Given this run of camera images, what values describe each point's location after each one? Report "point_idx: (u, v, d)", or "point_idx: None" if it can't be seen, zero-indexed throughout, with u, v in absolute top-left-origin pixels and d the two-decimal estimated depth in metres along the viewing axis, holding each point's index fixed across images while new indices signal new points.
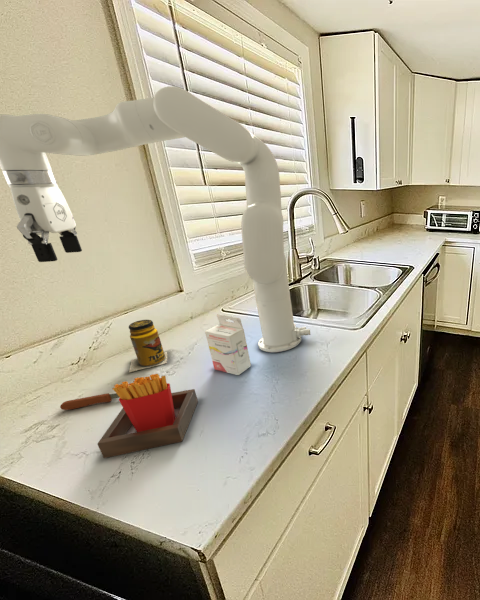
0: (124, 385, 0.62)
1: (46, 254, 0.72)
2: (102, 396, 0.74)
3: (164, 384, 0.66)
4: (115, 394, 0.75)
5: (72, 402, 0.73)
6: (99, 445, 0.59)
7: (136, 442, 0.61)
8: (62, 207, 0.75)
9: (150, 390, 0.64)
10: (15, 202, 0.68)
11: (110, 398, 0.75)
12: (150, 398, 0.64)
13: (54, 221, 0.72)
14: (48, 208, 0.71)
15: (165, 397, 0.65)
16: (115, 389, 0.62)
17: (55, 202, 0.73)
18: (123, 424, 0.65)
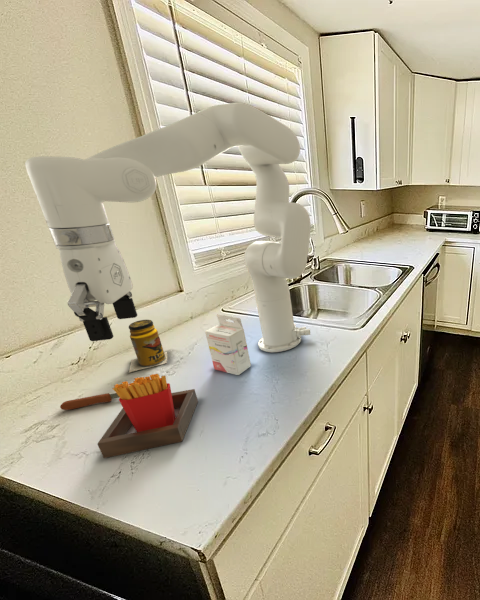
0: (124, 385, 0.62)
1: (101, 332, 0.55)
2: (102, 396, 0.74)
3: (164, 384, 0.66)
4: (115, 394, 0.76)
5: (72, 402, 0.73)
6: (99, 445, 0.59)
7: (136, 442, 0.61)
8: (119, 268, 0.59)
9: (150, 390, 0.64)
10: (65, 269, 0.52)
11: (110, 398, 0.75)
12: (150, 398, 0.64)
13: (111, 289, 0.56)
14: (105, 273, 0.55)
15: (165, 397, 0.65)
16: (115, 389, 0.62)
17: (112, 263, 0.57)
18: (123, 424, 0.65)
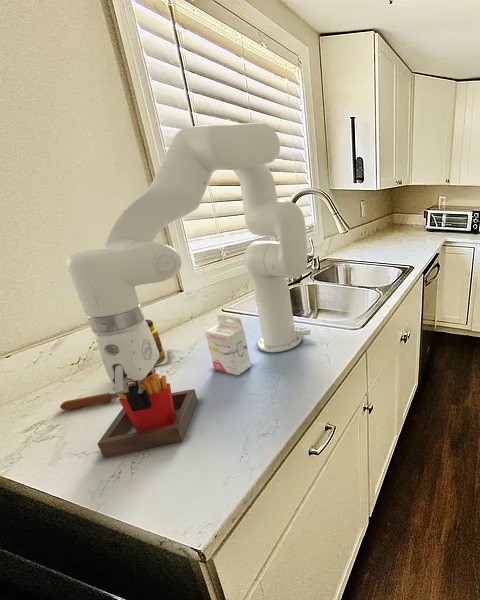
0: None
1: (142, 404, 0.62)
2: (102, 396, 0.74)
3: (164, 384, 0.66)
4: (115, 394, 0.76)
5: (72, 402, 0.73)
6: (99, 445, 0.59)
7: (136, 442, 0.61)
8: (148, 342, 0.63)
9: (150, 390, 0.64)
10: (102, 353, 0.56)
11: (110, 398, 0.75)
12: (150, 398, 0.64)
13: (143, 365, 0.60)
14: (137, 352, 0.59)
15: (165, 397, 0.65)
16: None
17: (143, 340, 0.61)
18: (123, 424, 0.65)
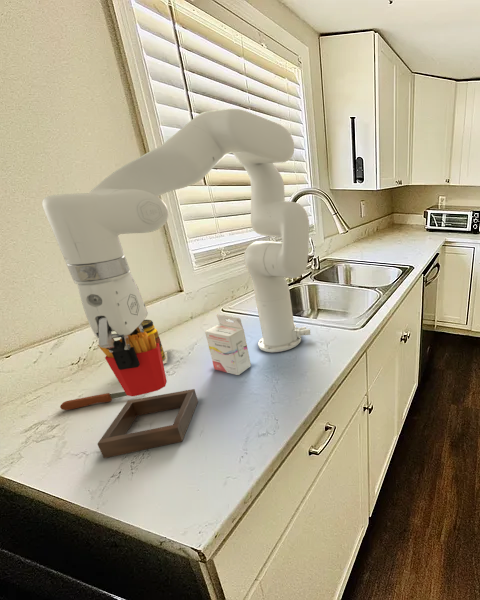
0: None
1: (129, 362, 0.59)
2: (102, 396, 0.74)
3: (153, 343, 0.62)
4: (115, 394, 0.76)
5: (72, 402, 0.73)
6: (99, 445, 0.59)
7: (136, 442, 0.61)
8: (135, 297, 0.60)
9: (138, 348, 0.60)
10: (84, 304, 0.53)
11: (110, 397, 0.76)
12: (138, 357, 0.61)
13: (129, 320, 0.57)
14: (122, 305, 0.56)
15: (154, 357, 0.62)
16: None
17: (128, 294, 0.58)
18: (123, 424, 0.65)
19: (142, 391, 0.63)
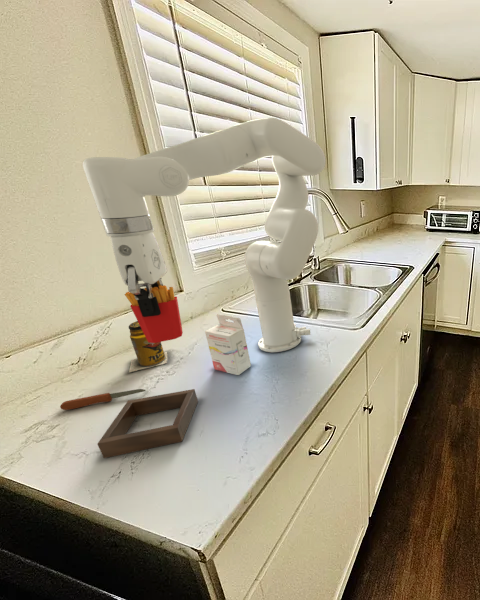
0: None
1: (152, 309, 0.67)
2: (102, 396, 0.74)
3: (172, 295, 0.71)
4: (115, 394, 0.76)
5: (72, 402, 0.73)
6: (99, 445, 0.59)
7: (136, 442, 0.61)
8: (157, 253, 0.68)
9: (159, 298, 0.69)
10: (116, 253, 0.61)
11: (110, 397, 0.76)
12: (159, 306, 0.69)
13: (153, 271, 0.65)
14: (148, 257, 0.64)
15: (173, 307, 0.70)
16: (127, 295, 0.67)
17: (152, 249, 0.66)
18: (123, 424, 0.65)
19: (162, 339, 0.71)
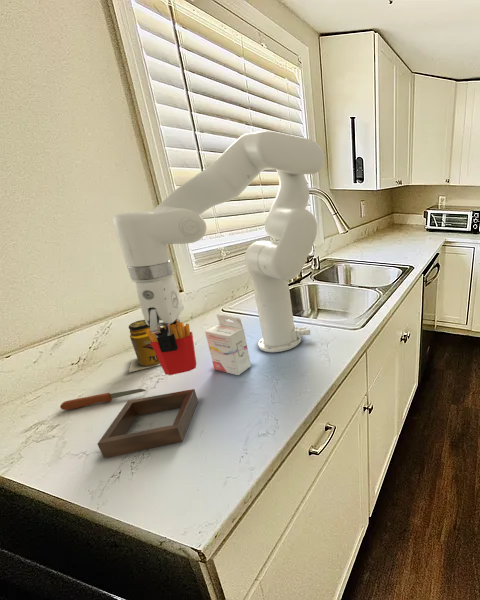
0: None
1: (170, 345, 0.73)
2: (102, 396, 0.74)
3: (188, 331, 0.77)
4: (115, 393, 0.76)
5: (72, 402, 0.73)
6: (99, 445, 0.59)
7: (136, 442, 0.61)
8: (175, 294, 0.74)
9: (176, 335, 0.75)
10: (140, 297, 0.67)
11: (111, 397, 0.76)
12: (176, 342, 0.75)
13: (172, 311, 0.71)
14: (168, 300, 0.70)
15: (189, 342, 0.77)
16: (147, 332, 0.73)
17: (171, 291, 0.72)
18: (123, 424, 0.65)
19: (178, 371, 0.77)
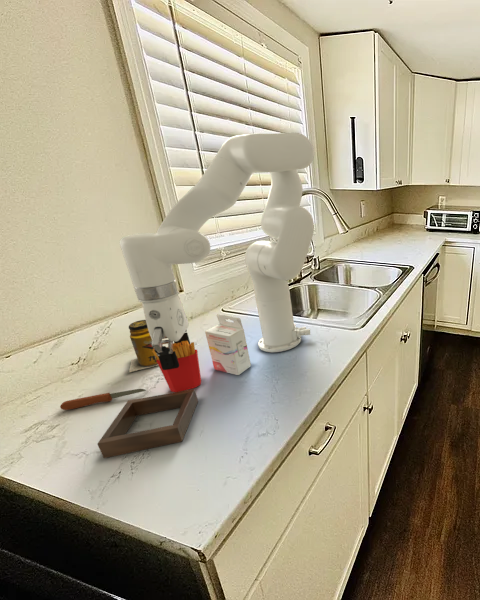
0: None
1: (171, 363, 0.72)
2: (102, 395, 0.74)
3: (193, 349, 0.78)
4: (115, 393, 0.76)
5: (72, 402, 0.73)
6: (99, 445, 0.59)
7: (136, 442, 0.61)
8: (181, 311, 0.76)
9: (182, 353, 0.76)
10: (147, 317, 0.69)
11: (111, 397, 0.76)
12: (182, 360, 0.77)
13: (178, 329, 0.73)
14: (174, 318, 0.72)
15: (194, 360, 0.78)
16: (154, 352, 0.75)
17: (177, 309, 0.74)
18: (123, 424, 0.65)
19: (183, 388, 0.79)
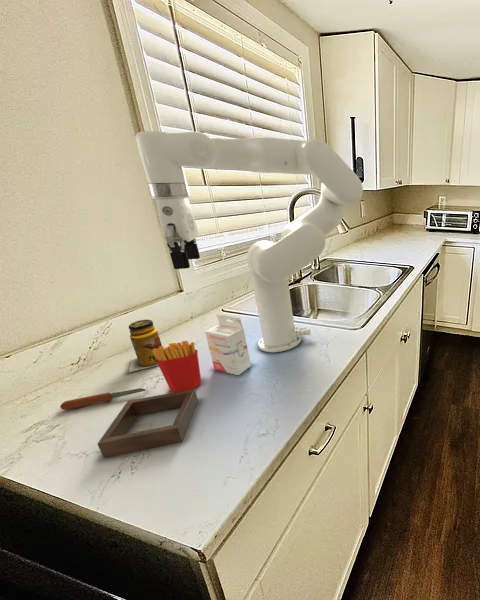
0: (161, 348, 0.75)
1: (182, 262, 0.76)
2: (102, 395, 0.75)
3: (193, 349, 0.78)
4: (115, 393, 0.76)
5: (72, 402, 0.73)
6: (99, 445, 0.59)
7: (136, 442, 0.61)
8: (191, 217, 0.79)
9: (182, 353, 0.76)
10: (160, 213, 0.72)
11: (111, 397, 0.76)
12: (182, 360, 0.77)
13: (189, 230, 0.76)
14: (185, 218, 0.75)
15: (194, 360, 0.78)
16: (154, 352, 0.75)
17: (188, 212, 0.77)
18: (123, 424, 0.65)
19: (183, 388, 0.79)
